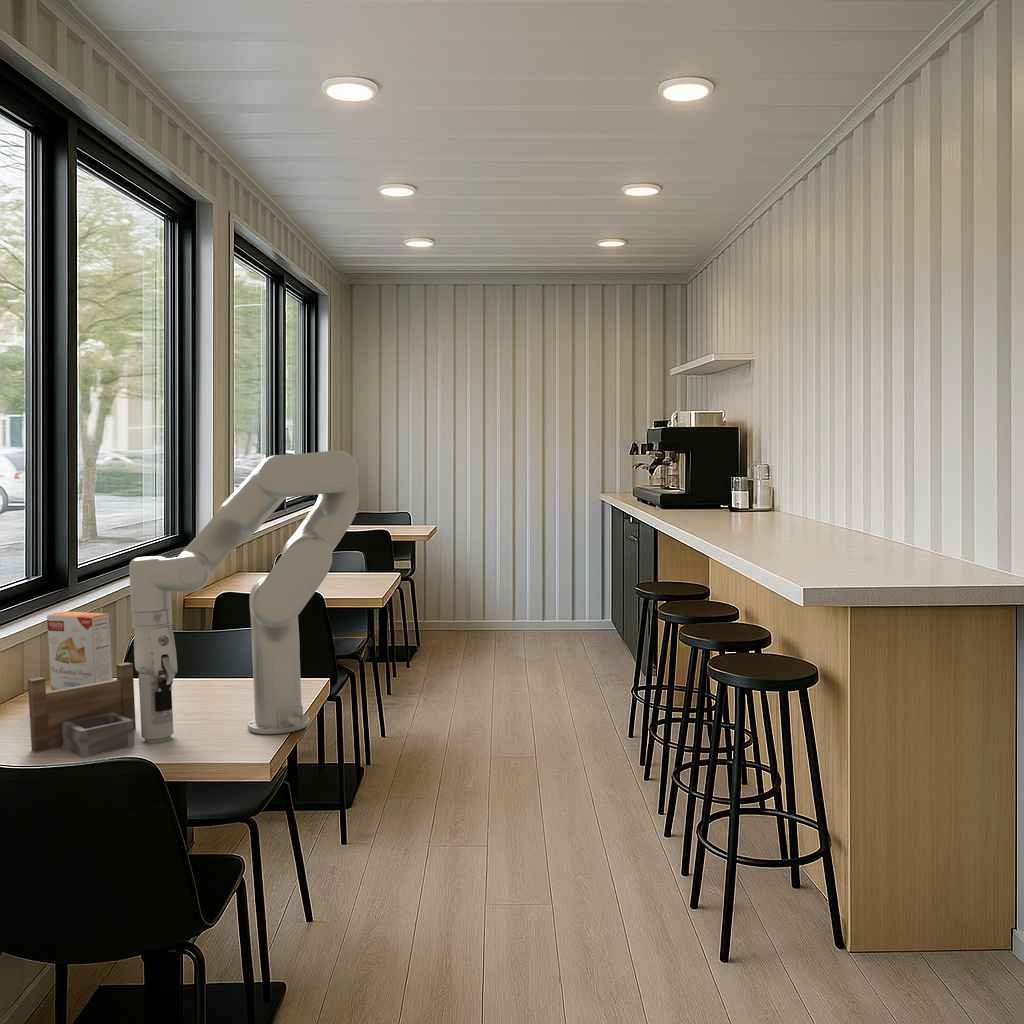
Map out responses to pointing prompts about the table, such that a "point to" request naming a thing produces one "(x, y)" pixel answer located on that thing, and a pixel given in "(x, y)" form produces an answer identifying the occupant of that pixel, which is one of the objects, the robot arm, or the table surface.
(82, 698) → the wooden holder with tray
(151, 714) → the energy drink can
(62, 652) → the cracker box
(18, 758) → the table surface
